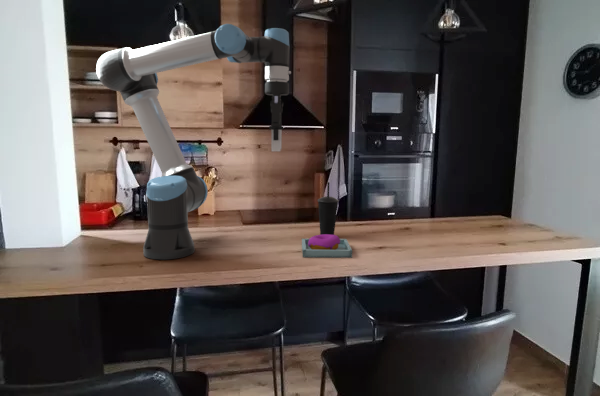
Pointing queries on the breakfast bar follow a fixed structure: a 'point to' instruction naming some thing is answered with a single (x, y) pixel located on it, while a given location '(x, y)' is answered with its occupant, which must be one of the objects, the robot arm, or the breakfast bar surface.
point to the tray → (340, 252)
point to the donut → (324, 242)
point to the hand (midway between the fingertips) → (276, 150)
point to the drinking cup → (327, 213)
